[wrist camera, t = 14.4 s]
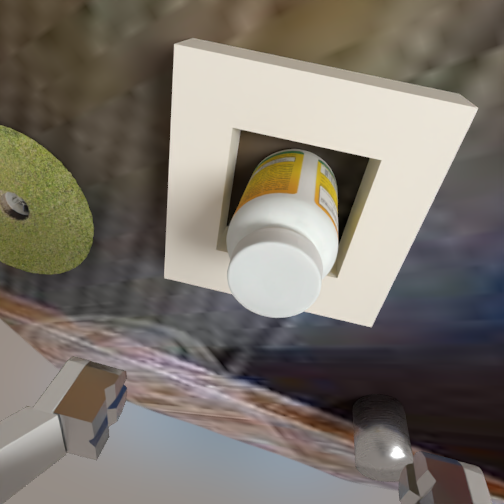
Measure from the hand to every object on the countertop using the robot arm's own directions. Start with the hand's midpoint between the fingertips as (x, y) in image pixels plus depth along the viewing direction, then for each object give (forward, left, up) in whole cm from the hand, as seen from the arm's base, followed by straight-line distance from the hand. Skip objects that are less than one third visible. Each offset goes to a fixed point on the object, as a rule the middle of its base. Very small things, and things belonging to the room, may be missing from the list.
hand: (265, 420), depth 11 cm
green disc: (+18, +5, -16) cm, 25 cm away
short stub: (-12, +19, -16) cm, 28 cm away
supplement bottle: (0, 0, -16) cm, 16 cm away
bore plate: (0, 0, -16) cm, 16 cm away
